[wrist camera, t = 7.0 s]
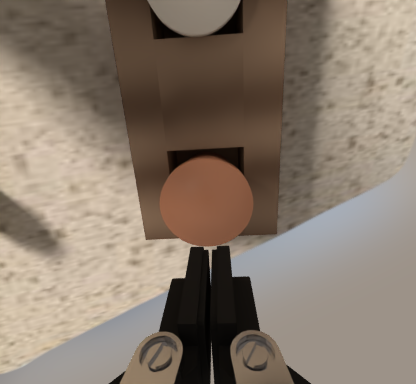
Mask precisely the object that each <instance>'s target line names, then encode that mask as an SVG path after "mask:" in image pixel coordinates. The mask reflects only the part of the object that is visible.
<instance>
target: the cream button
mask: <svg viewBox="0 0 416 384" xmlns="http://www.w3.org/2000/svg"><path fill="white" fill-rule="evenodd" d="M147 1H148V2H149V4H150V6H151V8H152V9H153V11H154V12H155V14H156V15H157V17H158V18H159V19H160V20H161V21H162V23H163V24H165V25H166V26H167V27H168V28H169V29H171V30H172V31H174V32H176V33H178V34H180V35H182V36H184V37H203V36H211V35H216V34H217V33H218V32H219V31H220V30H221V29H222V27H223V26H224V25H225V24H227V22H228V21H229V20H230V19H231V18H232V16H233V15H234V13H235V12H236V10H237V8H238V6H239V3H240V1H241V0H147Z"/></svg>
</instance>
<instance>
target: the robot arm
mask: <svg viewBox="0 0 416 384" xmlns="http://www.w3.org/2000/svg"><path fill="white" fill-rule="evenodd" d="M211 343H212V356H213V370H214V384H311V383H309V382H308V381H307V380H306V379H304V378H303V377H302V376H300V375H299V374H298V373H297V372H295V371H294V370H293V369H291V368H290V367H289V366H287V365H286V363H285V361H284V359H283V356H282V354H281V352H280V350H279V347H278V345H277V344H276V342H275V341H274V340H273V339H272V338H271V337H270V336H269V335H267V334H265V333H263V332H260V329H259V323H258V318H257V312H256V307H255V302H254V297H253V292H252V286H251V281H250V277H232V270H231V259H230V248H229V246H217V250H212V273H211V282H210V266H209V252H208V250H204V247H191V248H190V254H189V260H188V266H187V271H186V277H185V278H176V279H172V281H171V285H170V289H169V293H168V297H167V301H166V305H165V309H164V313H163V317H162V321H161V325H160V330H159V332H157V333H154V334H152V335H150V336H148V337H146V338H145V339H144V340H143V341H142V342H141V343H140V344H139V346H138V348H137V349H136V351H135V353H134V355H133V357H132V359H131V362H130V363H129V365H128V368H127V369H126V371H125V372H123V373H122V374H121V375H120V376H118V377H117V378H116V379H114V380H113V381H112V382H111V383H109V384H210V375H211V373H210V372H211Z"/></svg>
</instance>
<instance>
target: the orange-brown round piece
mask: <svg viewBox="0 0 416 384" xmlns="http://www.w3.org/2000/svg"><path fill="white" fill-rule="evenodd" d="M160 211H161V215H162V218H163V220H164V222H165V224H166V225H167V227H168V228H169V229H170V231H171V232H172V233H173V234H175V235H176V236H177V237H178V238H180V239H181V240H183V241H185V242H187V243H190V244H193V245H197V246H216V245H221V244H224V243H226V242H228V241H231V240H232V239H234V238H235V237H237V236H238V235H239V234H240V233H241V232H242V231H243V230H244V229H245V227H246V226H247V225H248V223H249V221H250V218H251V216H252V212H253V196H252V192H251V189H250V186H249V184H248V182H247V180H246V178H245V177H244V175H243V174H242V173H241V171H240V170H239V169H238V168H236V167H235V166H234V165H232V164H231V163H230V162H229V161H228V160H227V159H226V158H224V157H223V156H221V155H219V154H217V153H213V152H202V153H199V154H196V155H194V156H192V157H191V158H190V159H189V160H188V161H186V162H184V163H182V164H181V165H179V166H178V167H177V168H175V169H174V170H173V171H172V173H171V174H170V175H169V177H168V178H167V180H166V182H165V184H164V186H163V188H162V191H161V195H160Z"/></svg>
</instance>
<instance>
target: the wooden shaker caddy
mask: <svg viewBox="0 0 416 384" xmlns="http://www.w3.org/2000/svg"><path fill="white" fill-rule="evenodd" d="M105 2H106V8H107V13H108V19H109V25H110V31H111V37H112V43H113V49H114V55H115V61H116V67H117V72H118V78H119V84H120V90H121V96H122V102H123V108H124V114H125V120H126V125H127V131H128V137H129V143H130V149H131V155H132V161H133V167H134V173H135V178H136V184H137V190H138V196H139V202H140V208H141V214H142V220H143V226H144V232H145V237H146V240H151V239H174V238H178V237H177V236H176V235H175V234H173V233H172V232H171V231H170V229H169V228H168V227H167V225H166V224H165V222H164V220H163V218H162V215H161V211H160V195H161V191H162V188H163V186H164V184H165V182H166V180H167V178H168V177H169V175H170V174H171V173H172V171H173V170H174V169H175V168H177V167H178V166H179V165H181V164H182V163H184V162H186V161H188V160H189V159H190V158H191V157H192V156H194V155H196V154H199V153H202V152H213V153H217V154H219V155H221V156H223V157H224V158H226V159H227V160H228V161H229V162H230V163H231V164H232V165H234V166H235V167H236V168H238V169H239V170H240V171H241V173H242V174H243V175H244V177H245V178H246V180H247V182H248V184H249V186H250V189H251V192H252V196H253V212H252V216H251V218H250V221H249V223H248V225H247V226H246V227H245V229H244V230H243V231H242V232H241V233H240V234H239V235H238V236H244V235H267V234H277V216H278V194H279V171H280V149H281V127H282V105H283V83H284V61H285V38H286V16H287V0H241V1H240V3H239V6H238V8H237V10H236V12H235V13H234V15H233V16H232V18H231V19H230V20H229V21H228V22H227V24H225V25H224V26H223V27H222V29H221V30H220V31H219V32H218V33H217V34H216V35H211V36H203V37H184V36H182V35H180V34H178V33H176V32H174V31H172V30H171V29H169V28H168V27H167V26H166V25H165V24H163V23H162V21H161V20H160V19H159V18H158V17H157V15H156V14H155V12H154V11H153V9H152V8H151V6H150V4H149V2H148V1H147V0H105Z"/></svg>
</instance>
